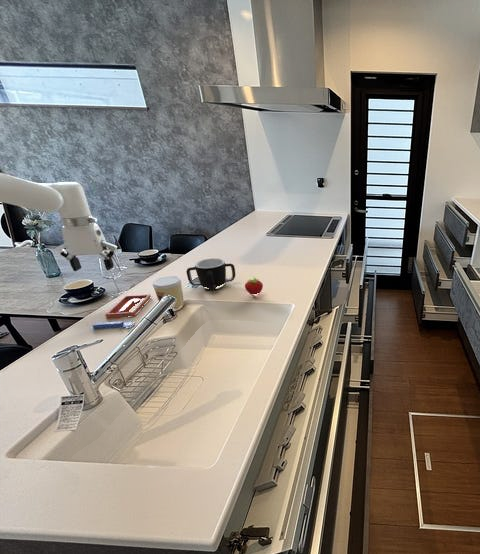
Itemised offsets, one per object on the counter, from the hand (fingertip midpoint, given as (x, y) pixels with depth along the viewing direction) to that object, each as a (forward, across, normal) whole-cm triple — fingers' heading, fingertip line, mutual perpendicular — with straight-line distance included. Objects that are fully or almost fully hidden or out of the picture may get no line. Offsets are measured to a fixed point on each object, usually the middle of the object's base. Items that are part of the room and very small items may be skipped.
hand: (94, 269), depth 107 cm
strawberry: (+19, -51, -10) cm, 55 cm away
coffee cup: (+20, -20, -4) cm, 28 cm away
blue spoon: (+20, -5, +8) cm, 22 cm away
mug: (+19, -32, -23) cm, 43 cm away
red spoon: (+19, -4, -6) cm, 20 cm away
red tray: (+20, -4, -6) cm, 21 cm away
